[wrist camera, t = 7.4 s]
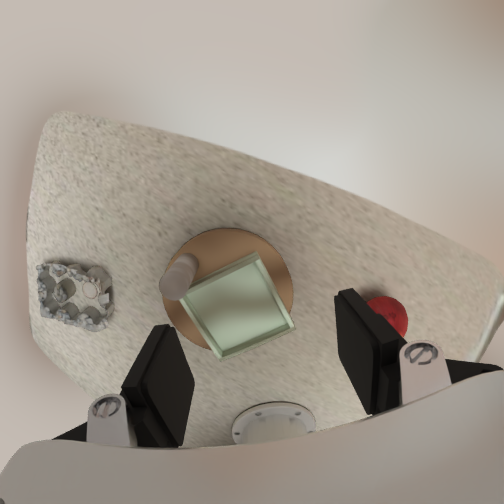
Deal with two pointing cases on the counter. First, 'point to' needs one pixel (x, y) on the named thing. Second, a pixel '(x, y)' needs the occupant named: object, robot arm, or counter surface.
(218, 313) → the disc
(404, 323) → the onion
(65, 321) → the egg carton
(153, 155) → the counter surface
